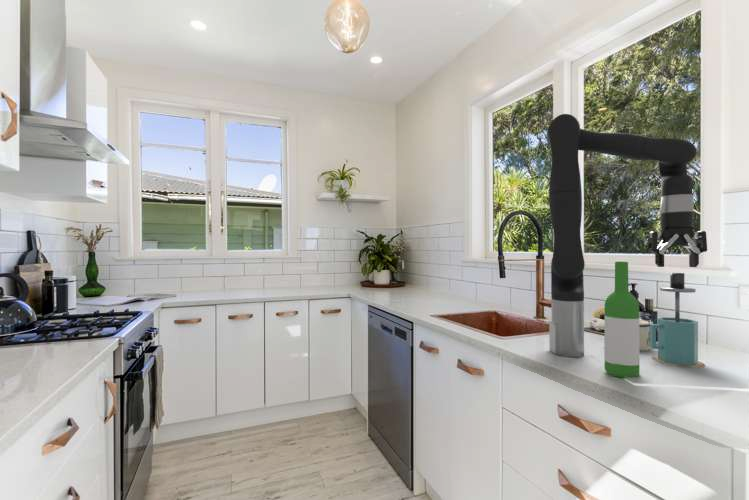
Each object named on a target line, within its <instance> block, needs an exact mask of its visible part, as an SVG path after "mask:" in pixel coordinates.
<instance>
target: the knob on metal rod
mask: <svg viewBox="0 0 749 500" xmlns="http://www.w3.org/2000/svg"><path fill="white" fill-rule="evenodd" d="M669 275H670V276H669V278H670V279H669V282H670V284H669V286H660V287H659V290H660V291H662V292H669V293H672V292H673V293H674V296H675V297H674V299H675V300H674V302H675V303H674V306H675V307H674V310H675V312H674V318H675V320H666V321H673V322H685V321H680V318H681V316H680V311H681V310H680V302H681V301H680V300H681V299H680V295H681V293H691V294H692V293H696V288H693V287H685V282H686V281H685V273H684V272H669ZM687 323H689V322H687Z"/></svg>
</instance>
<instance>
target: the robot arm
mask: <svg viewBox="0 0 749 500" xmlns="http://www.w3.org/2000/svg"><path fill="white" fill-rule="evenodd" d="M545 135H546V136H545V139H546V142H547V144H548V145H549V146H550V152H551V168H550V175H549V176H550V177H549V186H548V200H549V201H548V202H549V203H548V204H549V214H550V220H551V225H552V226H551V227H552V230H553V250H552V252H553V253H552V258H551V262H550V263H551V264H550V267H551V268H550V270H551V271H550V273H551V274H550V275H551V276H550V277H551V284H550V287H551V290H550V291H551V293H550V295H551V297H550V298H551V303H550V304H551V305H550V306H551V310H550V311H551V320H550V321H549V325H548V326H549V329H548V330H549V331H548V333H549V336H548V337H549V342H548V343H549V345H548V346H549V351H550V352H551V353H553V355H556V356H562V357H569V358H581V357H584V356H585V291H584V269H585V264H586V263H585V258H584V253H583V247H582V239H581V227H582V226H581V225H582V216H583V215H582V213H583V209H582V208H583V196H582V194H583V192H582V182H581V181H582V179H581V170H580V163H579V151H585V152H590V153H591V152H593V153H599V154H604V155H609V156H613V157H614V156H615V157H620V158H625V159H629V160H635V161H638V162H639V161H640V162H647V161H656V162H657V168H658V172H659V178H660V180H661V188H660V189H661V190H660V191H661V193H660V196H661V197H660V207H659V208H660V209H659V210H660V211H659V212H660V215H659V217H660V223H659V224H660V228H661V229H660V232H658V231H656V230H655V231H649V232H648V237H647V251H648V252H649V253H653V254H654V257H655V258H654V264H655V265H656V266H657V267H658V268H664V267H665V254H664V253H665V252H666V251H667V249H669V248H670V247H683V248H685V249H686V250H687V251H688V252H689V255H688V257H689V259H688V261H689V262H688V263H689V264H688V265H689V267H690V268H697V267H698V266H699V264H700V260H699V259H700V254H702V253H704V252H707V251H708V239H707V232H706V231H704V230H699V231H694V229H693V228H694V226H695V225H694V224H695V223H694V222H695V221H694V219H695V217H694V214H695V213H694V212H695V210H694V209H695V205H694V204H695V203H694V202H695V201H694V199H693V198H694V197H693V196H694V195H693V179H692V177H691V175H688V169H687V164H689V163H690V162H691V161H693V160H694V158H695V157H696V156H697V147H696V145H694V143H692V142H690V141H688V140H685V139H679V138H669V137H668V138H665V137H663V138H662V137H649V136H645V135H640V134H635V133H628V132H599V131H592V130H586V129H584V128H581V125H580V122H579V120H578V119H577V117H575V116H574V115H573V114H569V113H562V114H559V115H558V116H556V117H554V118H553V119H552V121H550V123H549V124H548V126H547V131H546V134H545ZM659 238H661V241H660V242H659V244H658V239H659ZM693 238H694V239H695V242H694V240H692V239H693Z"/></svg>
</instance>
